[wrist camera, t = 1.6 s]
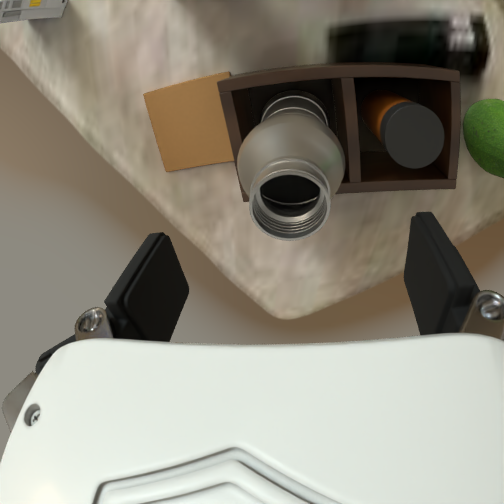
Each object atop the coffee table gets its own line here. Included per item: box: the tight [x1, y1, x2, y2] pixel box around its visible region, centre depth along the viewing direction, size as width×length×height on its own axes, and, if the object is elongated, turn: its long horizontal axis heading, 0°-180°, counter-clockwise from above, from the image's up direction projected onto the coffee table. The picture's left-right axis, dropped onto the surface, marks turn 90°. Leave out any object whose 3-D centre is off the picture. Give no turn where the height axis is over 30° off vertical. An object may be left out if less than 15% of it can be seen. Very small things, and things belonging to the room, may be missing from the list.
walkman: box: [0, 0, 67, 23], centre depth 17 cm, size 8×3×12 cm, turn 70°
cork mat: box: [143, 72, 234, 172], centre depth 31 cm, size 10×10×1 cm
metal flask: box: [237, 90, 345, 241], centre depth 21 cm, size 6×7×20 cm
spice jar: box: [361, 89, 444, 168], centre depth 23 cm, size 5×5×10 cm
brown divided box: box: [217, 62, 461, 202], centre depth 25 cm, size 11×20×8 cm, turn 100°
